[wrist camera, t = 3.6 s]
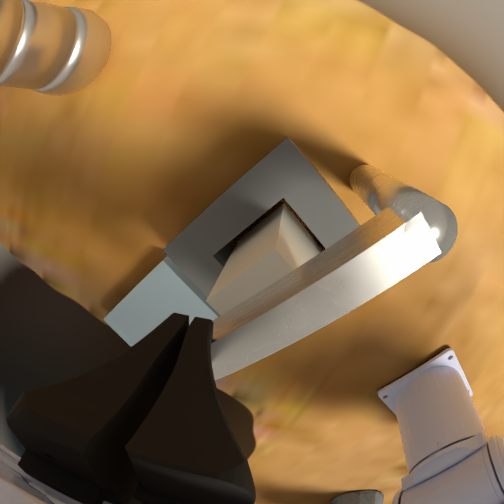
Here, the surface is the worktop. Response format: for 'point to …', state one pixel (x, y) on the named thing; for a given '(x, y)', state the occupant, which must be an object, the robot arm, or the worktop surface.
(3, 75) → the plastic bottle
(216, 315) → the tile
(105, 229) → the worktop surface
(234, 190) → the socket block
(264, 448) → the worktop surface
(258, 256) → the plug
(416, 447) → the robot arm
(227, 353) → the grey piece
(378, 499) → the moka pot
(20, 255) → the worktop surface
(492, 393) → the worktop surface
